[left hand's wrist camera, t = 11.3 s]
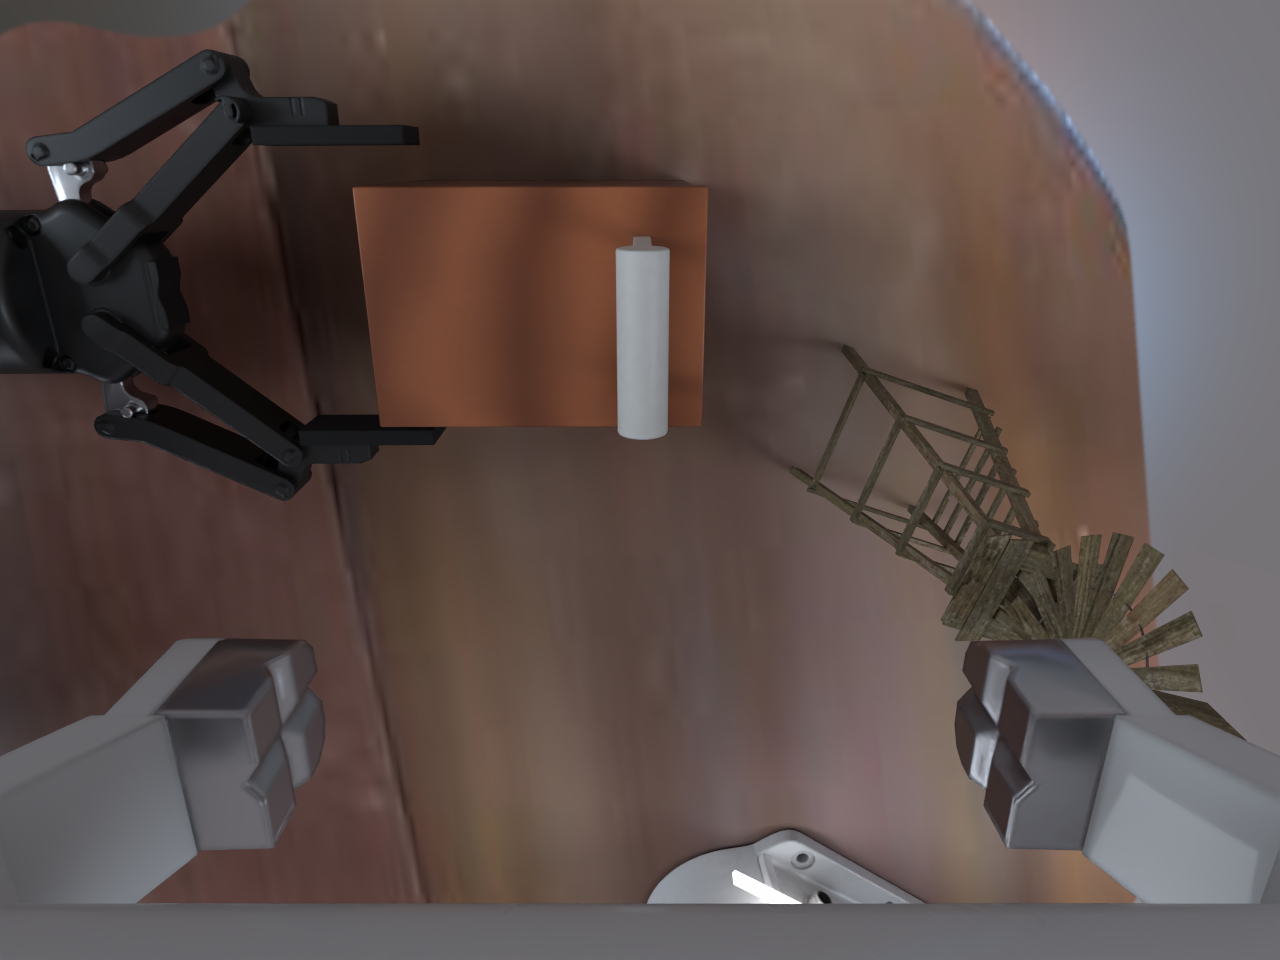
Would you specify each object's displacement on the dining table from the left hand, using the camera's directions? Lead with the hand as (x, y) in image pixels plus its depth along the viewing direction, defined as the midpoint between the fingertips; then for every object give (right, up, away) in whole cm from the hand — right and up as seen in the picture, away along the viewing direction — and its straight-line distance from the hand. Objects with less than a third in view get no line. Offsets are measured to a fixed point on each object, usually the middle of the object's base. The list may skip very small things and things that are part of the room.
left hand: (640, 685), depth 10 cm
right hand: (-10, +11, +29) cm, 33 cm away
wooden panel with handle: (-4, +10, +26) cm, 29 cm away
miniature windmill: (+14, +5, +39) cm, 42 cm away
